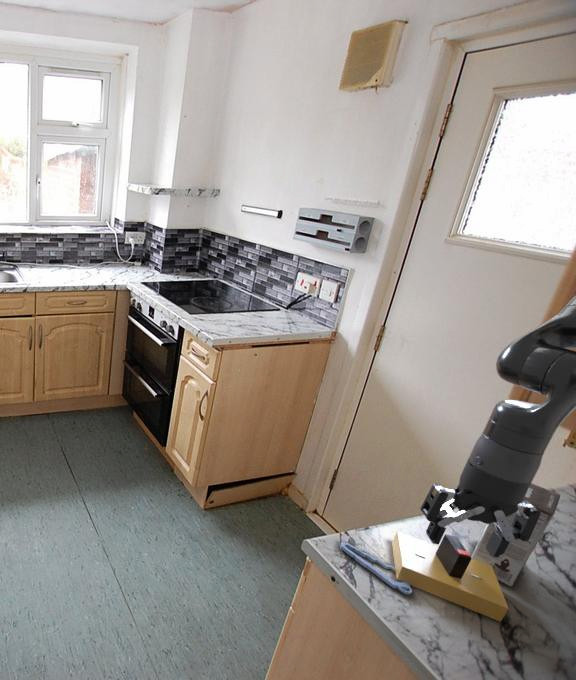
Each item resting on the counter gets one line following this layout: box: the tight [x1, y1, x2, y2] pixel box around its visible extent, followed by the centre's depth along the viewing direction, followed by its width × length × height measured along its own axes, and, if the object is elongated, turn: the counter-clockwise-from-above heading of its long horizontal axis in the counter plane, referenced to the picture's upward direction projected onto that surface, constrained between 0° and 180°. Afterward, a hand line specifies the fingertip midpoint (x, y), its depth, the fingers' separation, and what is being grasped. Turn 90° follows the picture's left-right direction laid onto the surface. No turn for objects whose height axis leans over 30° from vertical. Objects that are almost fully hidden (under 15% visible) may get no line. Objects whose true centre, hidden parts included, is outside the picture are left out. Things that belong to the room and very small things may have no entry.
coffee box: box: [471, 482, 561, 587], centre depth 81 cm, size 9×6×16 cm
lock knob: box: [436, 533, 472, 579], centre depth 78 cm, size 5×2×5 cm, turn 164°
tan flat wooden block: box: [391, 530, 509, 623], centre depth 79 cm, size 14×10×3 cm
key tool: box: [339, 541, 413, 595], centre depth 81 cm, size 12×1×5 cm
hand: (461, 546), depth 77 cm, fingers open, 8 cm apart
